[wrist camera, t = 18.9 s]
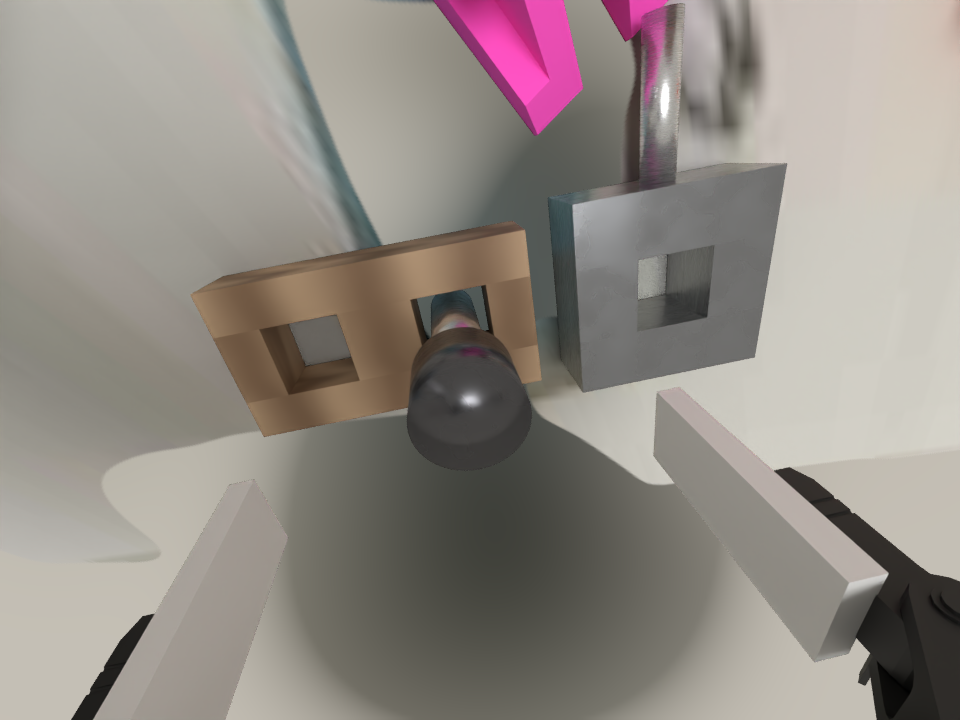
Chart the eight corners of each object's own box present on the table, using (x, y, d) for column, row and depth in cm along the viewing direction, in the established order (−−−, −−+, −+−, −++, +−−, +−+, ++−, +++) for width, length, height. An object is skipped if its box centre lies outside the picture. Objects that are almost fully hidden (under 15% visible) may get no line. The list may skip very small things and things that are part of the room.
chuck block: (561, 359, 31) (583, 392, 27) (535, 44, 22) (562, 15, 18) (708, 329, 32) (754, 357, 27) (742, 7, 23) (819, -31, 18)
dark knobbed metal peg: (425, 346, 30) (423, 480, 17) (408, 281, 27) (392, 381, 15) (491, 333, 30) (537, 457, 17) (480, 266, 27) (524, 354, 15)
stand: (283, 404, 30) (264, 436, 27) (223, 276, 26) (190, 294, 22) (528, 354, 31) (541, 380, 27) (511, 220, 26) (525, 229, 23)
